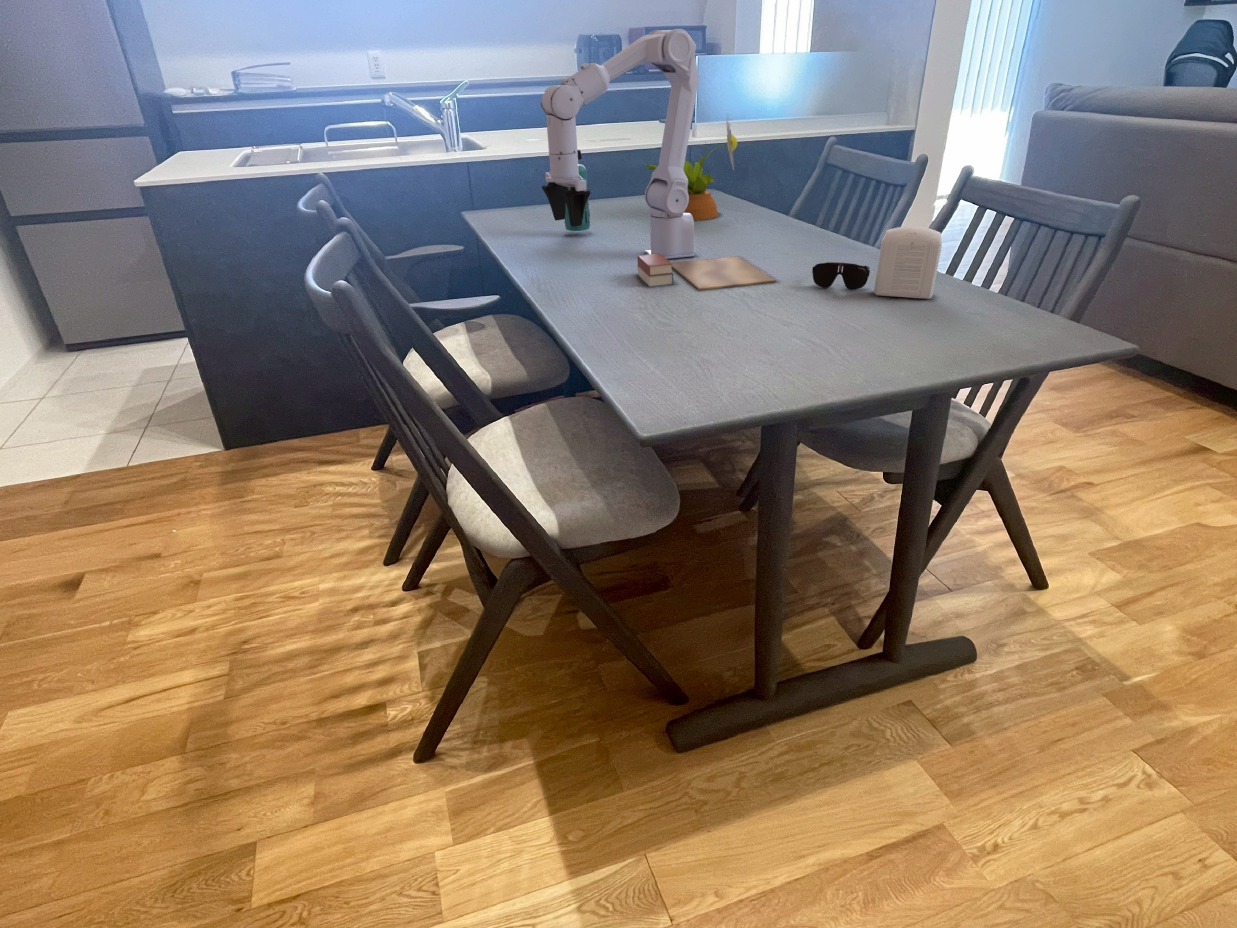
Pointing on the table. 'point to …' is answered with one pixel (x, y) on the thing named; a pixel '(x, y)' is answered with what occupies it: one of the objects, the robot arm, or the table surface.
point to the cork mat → (720, 273)
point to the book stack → (655, 270)
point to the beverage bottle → (586, 214)
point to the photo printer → (908, 262)
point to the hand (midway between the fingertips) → (567, 222)
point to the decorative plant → (703, 183)
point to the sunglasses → (851, 274)
